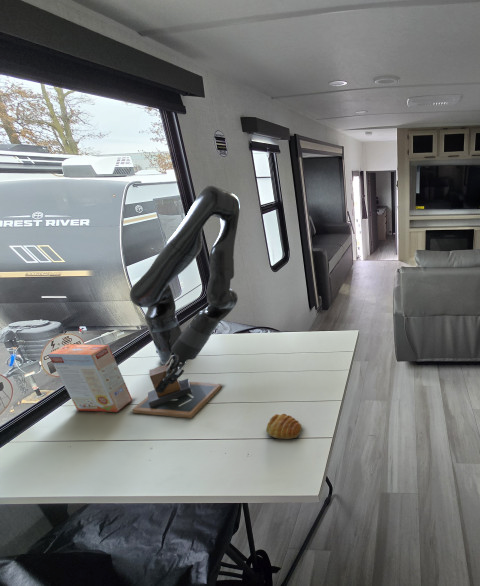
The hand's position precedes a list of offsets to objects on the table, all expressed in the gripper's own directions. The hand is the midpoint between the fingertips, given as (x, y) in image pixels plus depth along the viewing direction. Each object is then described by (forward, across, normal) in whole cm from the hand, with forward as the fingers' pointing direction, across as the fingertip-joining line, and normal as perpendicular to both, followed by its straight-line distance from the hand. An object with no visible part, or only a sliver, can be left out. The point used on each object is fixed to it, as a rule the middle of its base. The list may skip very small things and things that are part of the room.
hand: (158, 387), depth 97 cm
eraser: (+1, 0, -4) cm, 5 cm away
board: (+1, -2, -7) cm, 7 cm away
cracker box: (+15, +10, +7) cm, 19 cm away
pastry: (-15, -36, -23) cm, 45 cm away
